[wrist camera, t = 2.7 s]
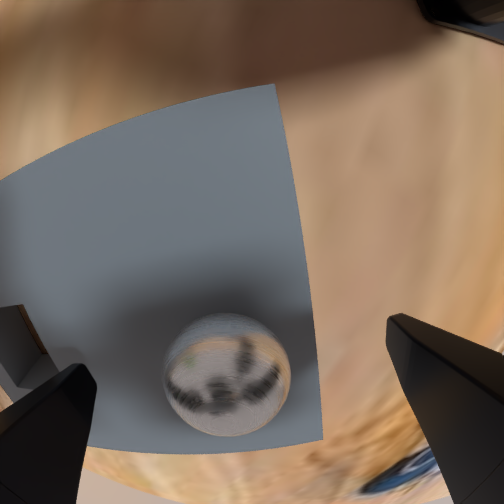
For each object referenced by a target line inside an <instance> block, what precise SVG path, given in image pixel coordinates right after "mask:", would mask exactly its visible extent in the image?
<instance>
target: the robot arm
mask: <svg viewBox="0 0 504 504" xmlns="http://www.w3.org/2000/svg"><path fill="white" fill-rule="evenodd" d="M417 2H418V4H419V7H420V10H421V12H422V14H423V16H424V17H425V18H426V19H427V20H428V21H429V22H431V23H434V24H438V25H442V26H447V27H451V28H455V29H459V30H463V31H466V32H470V33H473V34H476V35H480V36H483V37H486V38H489V39H492V40H495V41H497V42H500V43H503V44H504V0H417ZM431 11H432V12H434V14H435V15H434V14H433V13H432V12H431ZM386 347H387V350H388V352H389V355H390V357H391V360H392V362H393V365H394V368H395V370H396V373H397V376H398V378H399V381H400V384H401V387H402V389H403V392H404V394H405V396H406V398H407V400H408V402H409V404H410V406H411V408H412V410H413V412H414V414H415V416H416V418H417V420H418V422H419V424H420V426H421V429H422V431H423V433H424V435H425V437H426V439H427V441H428V444H429V446H430V448H431V450H432V452H433V455H434V457H435V459H436V461H437V464H438V466H439V468H440V471H441V473H442V475H443V478H444V480H445V483H446V485H447V487H448V490H449V492H450V495H451V497H452V500H453V502H454V504H504V355H502V353H499V352H497V351H494V350H492V349H489V348H487V347H484V346H482V345H479V344H477V343H474V342H472V341H470V340H467V339H465V338H462V337H460V336H457V335H455V334H452V333H450V332H447V331H445V330H442V329H440V328H438V327H435V326H433V325H430V324H428V323H425V322H423V321H420V320H418V319H415V318H413V317H411V316H408V315H406V314H403V313H399V314H395V315H392V316H389V317H388V319H387V327H386ZM96 394H97V383H96V381H95V379H94V378H93V376H92V375H91V373H90V371H89V370H88V368H87V366H86V365H85V364H83V363H73V364H71V365H70V366H68V367H67V368H65V369H64V370H62V371H61V372H59V373H58V374H56V375H55V376H53V377H52V378H50V379H49V380H47V381H46V382H44V383H43V384H41V385H40V386H38V387H37V388H35V389H34V390H32V391H31V392H29V393H28V394H27V395H25V396H24V397H22V398H21V399H19V400H18V401H16V402H15V403H13V404H12V405H10V406H9V407H7V408H6V409H4V410H3V411H1V412H0V504H76V500H77V493H78V488H79V482H80V477H81V471H82V466H83V461H84V457H85V452H86V447H87V443H88V439H89V435H90V430H91V425H92V419H93V412H94V406H95V400H96Z"/></svg>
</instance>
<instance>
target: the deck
mask: <svg viewBox="0 0 504 504" xmlns="http://www.w3.org/2000/svg"><path fill="white" fill-rule="evenodd" d="M19 304H23V305H24V308H25V310H26V312H27V314H28V316H29V318H30V320H31V322H32V324H33V326H34V328H35V330H36V332H37V334H38V335H39V337H40V339H41V341H42V343H43V345H44V346H45V348H46V350H47V352H48V353H49V354H42V353H41V351H40V349H39V348H38V346H37V344H36V342H35V341H34V339H33V337H32V335H31V333H30V331H29V329H28V328H27V326H26V324H25V322H24V320H23V318H22V316H21V314H20V311H19V309H18V307H17V305H19ZM215 313H235V314H240V315H244V316H247V317H250V318H252V319H254V320H257V321H258V322H260V323H261V324H263V325H265V326H266V327H267V328H268V329H270V330H271V331H272V332H273V333H274V334H275V335H276V337H277V338H278V339H279V340H280V342H281V343H282V345H283V347H284V349H285V351H286V353H287V356H288V359H289V363H290V369H291V382H290V389H289V392H288V395H287V398H286V401H285V403H284V404H283V406H282V408H281V410H280V411H279V412H278V413H277V415H276V416H275V417H274V418H273V419H272V420H271V421H270V422H268V423H267V424H266V425H264V426H263V427H261V428H259V429H258V430H255V431H253V432H251V433H248V434H244V435H240V436H230V437H226V436H216V435H211V434H207V433H204V432H202V431H199V430H197V429H196V428H194V427H192V426H191V425H189V424H188V423H186V422H185V421H184V420H183V419H182V418H181V417H180V416H179V415H178V414H177V413H176V412H175V411H174V409H173V408H172V406H171V404H170V403H169V401H168V399H167V397H166V394H165V391H164V387H163V382H162V365H163V360H164V356H165V353H166V351H167V349H168V347H169V345H170V343H171V341H172V340H173V339H174V337H175V336H176V335H177V333H178V332H179V331H180V330H182V329H183V328H184V327H185V326H186V325H188V324H189V323H191V322H192V321H194V320H196V319H198V318H201V317H204V316H206V315H210V314H215ZM73 363H83V364H85V365H86V366H87V368H88V370H89V371H90V373H91V375H92V376H93V378H94V379H95V381H96V383H97V394H96V400H95V406H94V412H93V419H92V425H91V430H90V435H89V439H88V443H87V446H90V447H97V448H103V449H111V450H119V451H129V452H140V453H156V454H218V453H234V452H246V451H256V450H264V449H272V448H279V447H286V446H292V445H298V444H303V443H308V442H313V441H318V440H323V429H322V412H321V397H320V384H319V371H318V360H317V349H316V339H315V329H314V320H313V311H312V302H311V294H310V286H309V278H308V270H307V263H306V256H305V249H304V242H303V235H302V228H301V222H300V215H299V209H298V203H297V197H296V191H295V185H294V179H293V174H292V168H291V162H290V157H289V152H288V146H287V141H286V136H285V131H284V126H283V121H282V116H281V111H280V107H279V102H278V97H277V93H276V88H275V84H268V85H261V86H255V87H250V88H244V89H239V90H234V91H229V92H224V93H219V94H215V95H211V96H206V97H202V98H198V99H194V100H190V101H187V102H183V103H179V104H176V105H172V106H169V107H165V108H162V109H159V110H156V111H152V112H149V113H146V114H143V115H140V116H137V117H134V118H131V119H129V120H126V121H123V122H120V123H118V124H115V125H112V126H110V127H107V128H105V129H102V130H100V131H97V132H95V133H92V134H90V135H88V136H85V137H83V138H81V139H78V140H76V141H74V142H72V143H70V144H67V145H65V146H63V147H61V148H59V149H57V150H55V151H53V152H51V153H49V154H47V155H45V156H43V157H41V158H39V159H37V160H35V161H34V162H32V163H30V164H28V165H26V166H24V167H23V168H21V169H19V170H17V171H16V172H14V173H12V174H11V175H9V176H7V177H6V178H4V179H2V180H1V181H0V385H1V386H2V388H3V389H4V391H5V392H6V393H7V395H8V396H9V397H10V399H11V400H12V401H13V403H15V402H16V401H18V400H19V399H21V398H22V397H24V396H25V395H27V394H28V393H29V392H31V391H32V390H34V389H35V388H37V387H38V386H40V385H41V384H43V383H44V382H46V381H47V380H49V379H50V378H52V377H53V376H55V375H56V374H58V373H59V372H61V371H62V370H64V369H65V368H67V367H68V366H70V365H71V364H73Z"/></svg>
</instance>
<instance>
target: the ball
mask: <svg viewBox="0 0 504 504" xmlns="http://www.w3.org/2000/svg"><path fill="white" fill-rule="evenodd" d="M162 382H163V387H164V391H165V394H166V397H167V399H168V401H169V403H170V404H171V406H172V408H173V409H174V411H175V412H176V413H177V414H178V415H179V416H180V417H181V418H182V419H183V420H184V421H185V422H186V423H188V424H189V425H191V426H192V427H194V428H196V429H197V430H199V431H202V432H204V433H207V434H211V435H216V436H226V437H230V436H240V435H244V434H248V433H251V432H253V431H255V430H258V429H259V428H261V427H263V426H264V425H266V424H267V423H268V422H270V421H271V420H272V419H273V418H274V417H275V416H276V415H277V413H278V412H279V411H280V410H281V408H282V406H283V404H284V403H285V401H286V398H287V395H288V392H289V389H290V382H291V369H290V363H289V359H288V356H287V353H286V351H285V349H284V347H283V345H282V343H281V342H280V340H279V339H278V338H277V337H276V335H275V334H274V333H273V332H272V331H271V330H270V329H268V328H267V327H266V326H265V325H263V324H261V323H260V322H258V321H257V320H254V319H252V318H250V317H247V316H244V315H240V314H235V313H215V314H210V315H206V316H204V317H201V318H198V319H196V320H194V321H192V322H191V323H189V324H188V325H186V326H185V327H184V328H183V329H182V330H180V331H179V332H178V333H177V335H176V336H175V337H174V339H173V340H172V341H171V343H170V345H169V347H168V349H167V351H166V353H165V356H164V360H163V365H162Z"/></svg>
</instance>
